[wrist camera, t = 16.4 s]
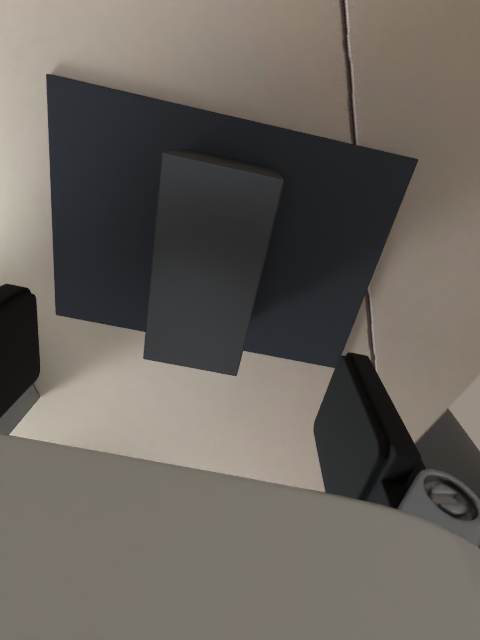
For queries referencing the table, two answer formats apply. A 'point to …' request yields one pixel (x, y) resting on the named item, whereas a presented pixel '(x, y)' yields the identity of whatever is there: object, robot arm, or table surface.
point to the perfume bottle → (18, 410)
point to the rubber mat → (142, 199)
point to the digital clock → (208, 258)
